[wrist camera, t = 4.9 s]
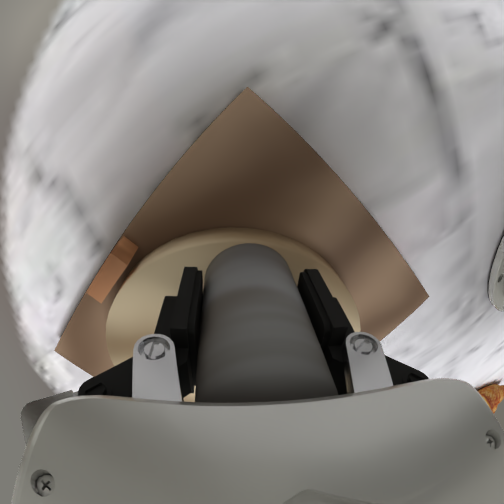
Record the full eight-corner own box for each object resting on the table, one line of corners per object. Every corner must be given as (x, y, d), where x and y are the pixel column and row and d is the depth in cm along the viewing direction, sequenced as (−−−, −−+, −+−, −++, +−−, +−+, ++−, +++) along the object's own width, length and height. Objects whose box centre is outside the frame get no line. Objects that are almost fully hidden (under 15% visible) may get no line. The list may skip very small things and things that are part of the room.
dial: (312, 405, 21) (336, 495, 13) (130, 396, 19) (112, 492, 11) (382, 244, 15) (481, 348, 7) (103, 213, 13) (-2, 326, 5)
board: (419, 285, 19) (443, 312, 16) (229, 426, 25) (230, 455, 22) (245, 90, 13) (251, 80, 9) (61, 338, 18) (45, 368, 15)
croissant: (406, 420, 37) (413, 459, 33) (431, 417, 29) (439, 462, 24) (489, 378, 37) (496, 412, 32) (518, 365, 29) (527, 403, 24)
